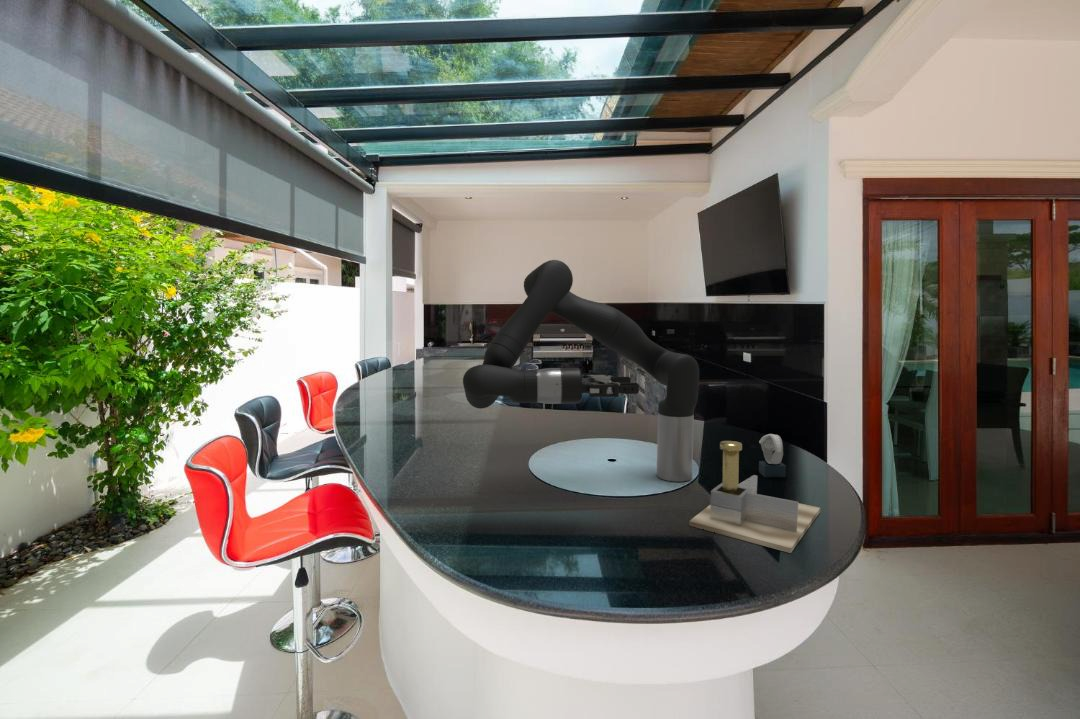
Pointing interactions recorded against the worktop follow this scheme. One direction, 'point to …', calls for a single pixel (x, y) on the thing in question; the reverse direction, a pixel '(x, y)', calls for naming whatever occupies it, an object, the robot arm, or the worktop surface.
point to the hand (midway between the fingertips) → (634, 384)
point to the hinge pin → (730, 466)
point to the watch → (772, 457)
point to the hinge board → (760, 529)
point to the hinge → (753, 507)
